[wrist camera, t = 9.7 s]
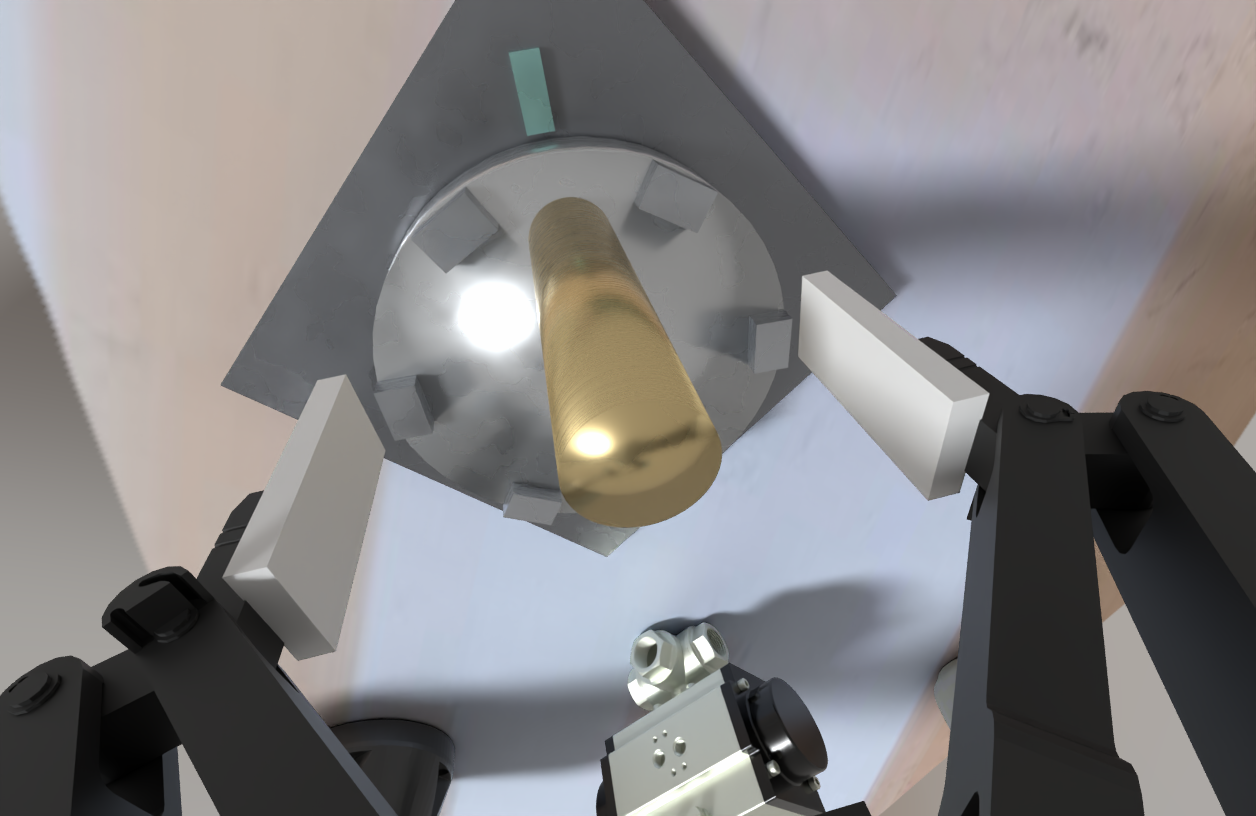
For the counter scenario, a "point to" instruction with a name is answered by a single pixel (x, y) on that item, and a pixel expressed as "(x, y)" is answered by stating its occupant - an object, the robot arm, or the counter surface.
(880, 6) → the counter surface
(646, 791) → the ball valve
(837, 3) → the counter surface
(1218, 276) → the counter surface
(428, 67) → the base plate
